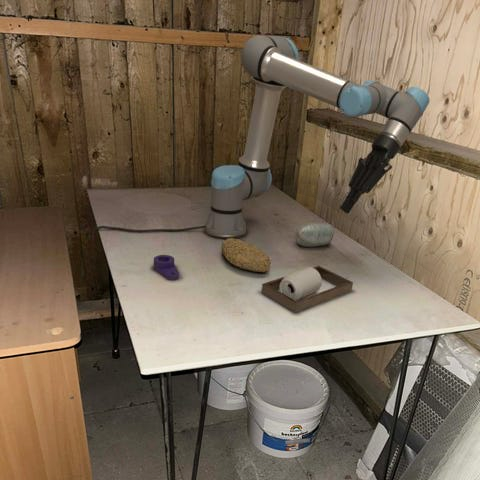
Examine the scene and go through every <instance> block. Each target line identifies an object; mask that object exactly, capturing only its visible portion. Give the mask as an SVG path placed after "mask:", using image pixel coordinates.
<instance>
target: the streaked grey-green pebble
mask: <svg viewBox="0 0 480 480" xmlns="http://www.w3.org/2000/svg"><path fill="white" fill-rule="evenodd" d="M334 233H335V231H334V227H333V226H332V225H331V224H329V223H326V222H320V221H319V222H318V221H317V222H315V221H313V222H308V223H304V224H302V225H301V226H300V227H299V228H298V230H297V232H296V236H295V240H296V242H297V244H298V245H299V246H301V247H305V248H315V247H316V248H317V247H322V246H327V245H328V244H330V242H332V240H333V238H334Z"/></svg>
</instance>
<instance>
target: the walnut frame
mask: <svg viewBox="0 0 480 480" xmlns="http://www.w3.org/2000/svg"><path fill="white" fill-rule="evenodd" d="M312 268H314V269H316V270H317V271H318V273H319V274H320V276H321V279H323V280H324V281H327V282H329V283H331V284H333V285H335V286H334V287H331V288H328V289H326V290H323V291H321V292H318V293H315V294H311V295H310V296H306V297H303V298H301V299H299V300H297V301H295V300H293V299H292V298H290V297H288V296H286V295H285V294H283V293H281V292H280V289H279V286H280V283H281V282H282V280H283V278H284V277H286V276H287V275H285V276H282V277H278V278H276V279H273V280H269V281H267V282H264V283H261V294H262V295H264V296H266V297H268V299H269V298H270V299H271V300H272V301H274V302H276V303H277V304H279V305H281V306H282V307H283V308H286V309H287V310H289V311H291V312H292V313H294V314H297V313H299V312H302V311H305V310H307V309H309V308H312V307H314V306H317V305H320V304H322V303H325V302H328V301H330V300H332V299H335V298H337V297H340V296H343V295H345V294H348V293H351V292H352V291H353V286H354V281H351V280H349V279H347V278H345V277H343V276H341V275H339V274H337V273H335V272H333V271H331V270H329V269H327V268H325V267H323V266H321V265H316V266H313V267H312Z"/></svg>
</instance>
